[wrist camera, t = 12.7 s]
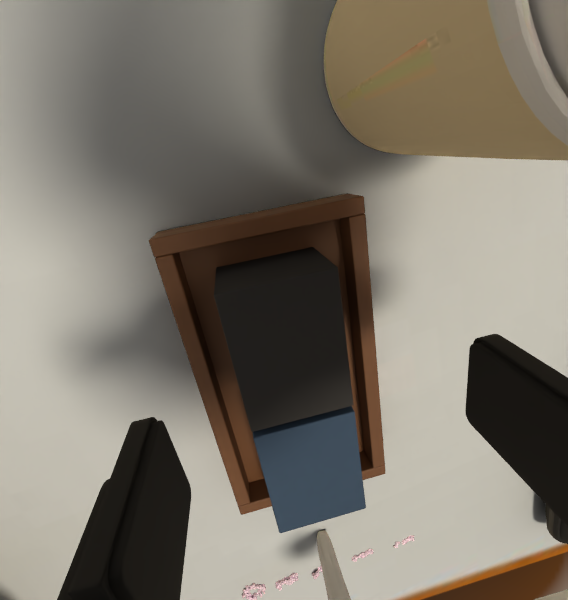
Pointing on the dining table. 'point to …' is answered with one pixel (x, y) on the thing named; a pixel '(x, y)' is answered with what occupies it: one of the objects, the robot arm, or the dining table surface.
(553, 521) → the carrying case
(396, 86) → the coffee cup
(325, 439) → the blue block
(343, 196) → the tray
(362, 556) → the flower petals
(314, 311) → the pad
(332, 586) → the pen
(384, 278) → the dining table surface
